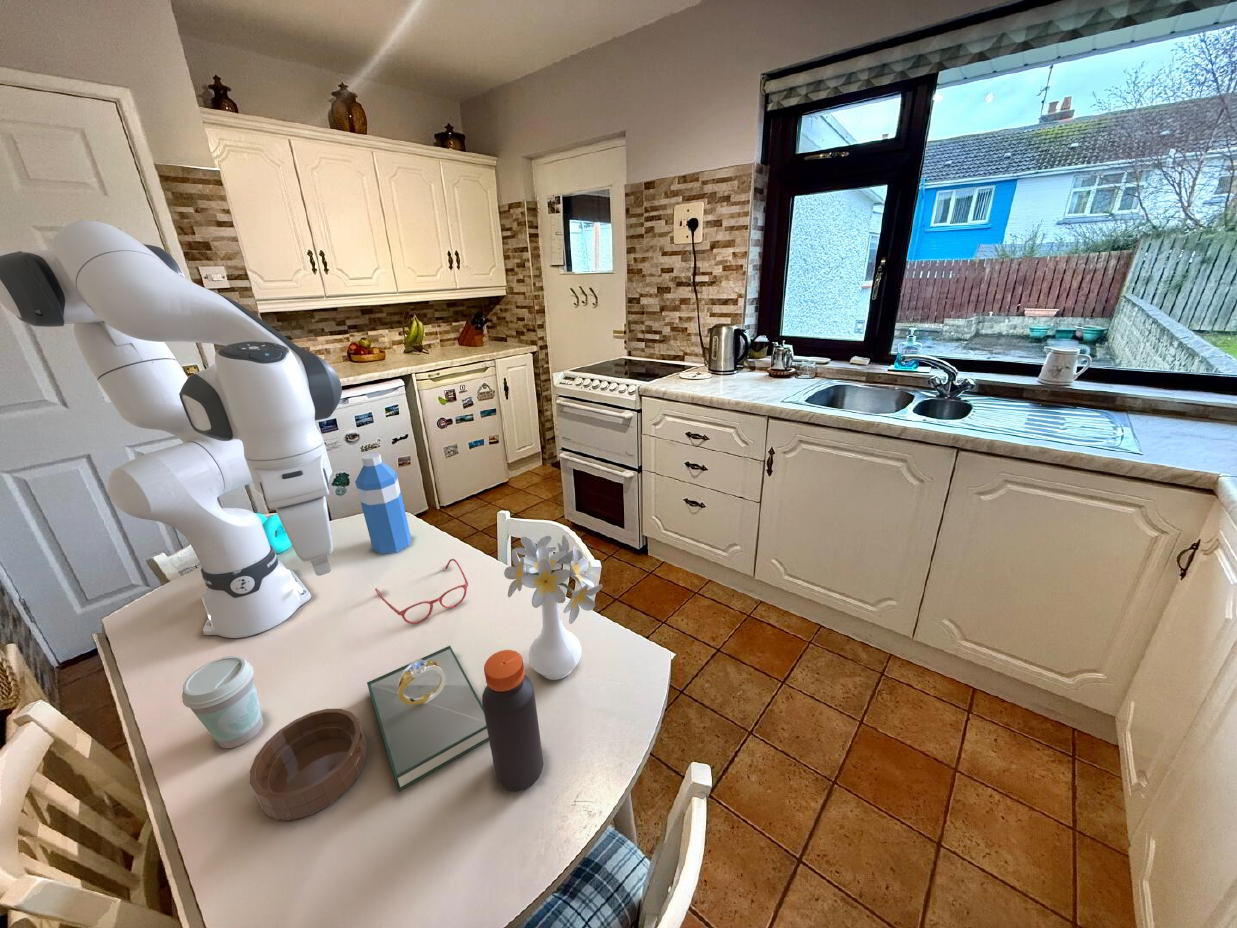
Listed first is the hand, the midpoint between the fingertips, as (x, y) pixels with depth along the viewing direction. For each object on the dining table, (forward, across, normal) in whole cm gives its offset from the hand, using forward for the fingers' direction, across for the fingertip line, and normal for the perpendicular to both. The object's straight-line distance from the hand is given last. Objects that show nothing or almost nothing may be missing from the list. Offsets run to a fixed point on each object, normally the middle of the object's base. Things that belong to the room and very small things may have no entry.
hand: (319, 556), depth 70 cm
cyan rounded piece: (+29, -67, -11) cm, 74 cm away
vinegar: (+29, +26, +16) cm, 42 cm away
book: (+29, +9, +8) cm, 31 cm away
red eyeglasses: (+29, -22, +16) cm, 40 cm away
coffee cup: (+29, -6, -17) cm, 34 cm away
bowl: (+29, +9, -8) cm, 31 cm away
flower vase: (+29, +13, +30) cm, 44 cm away
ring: (+26, +9, +8) cm, 29 cm away
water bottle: (+29, -50, +15) cm, 60 cm away
